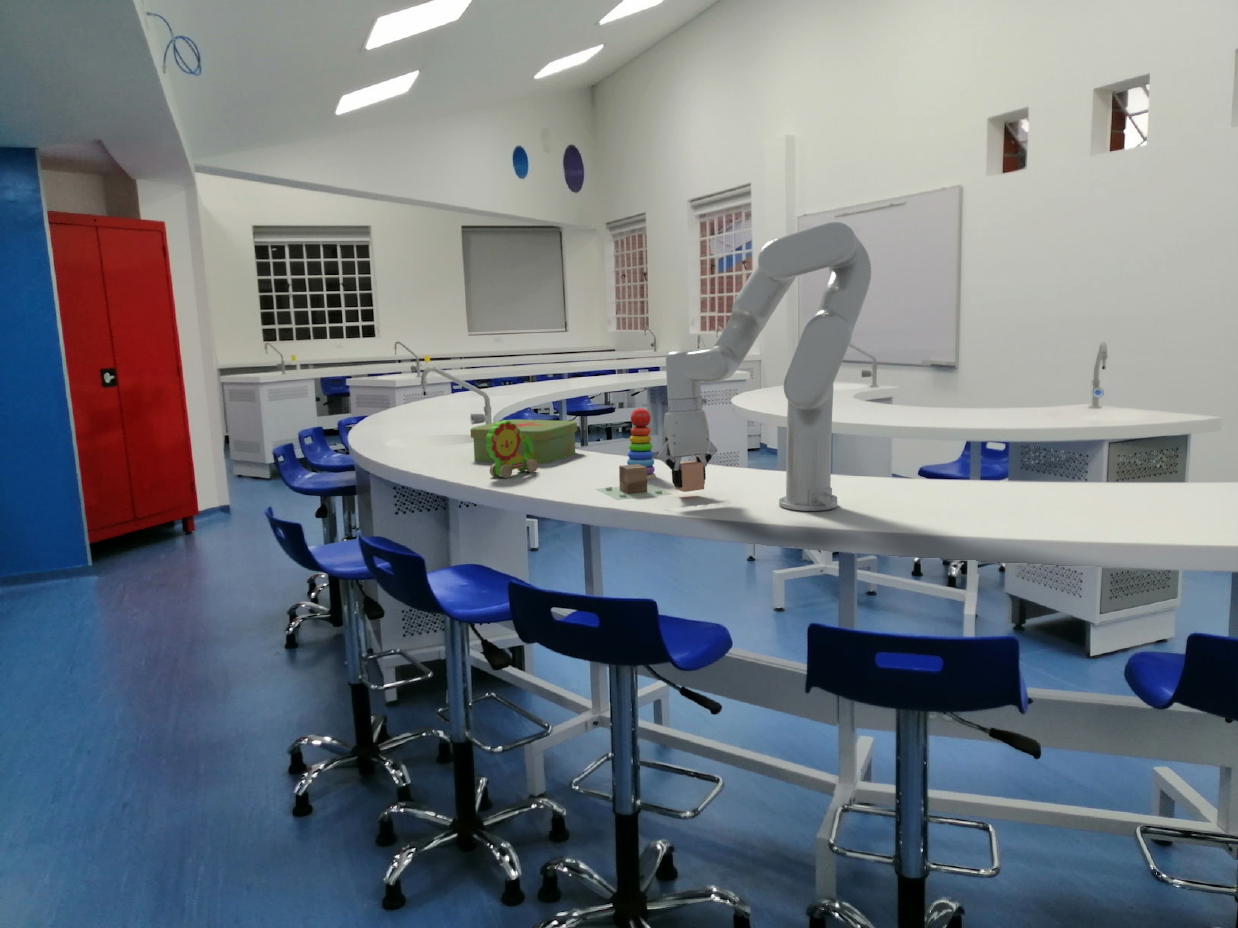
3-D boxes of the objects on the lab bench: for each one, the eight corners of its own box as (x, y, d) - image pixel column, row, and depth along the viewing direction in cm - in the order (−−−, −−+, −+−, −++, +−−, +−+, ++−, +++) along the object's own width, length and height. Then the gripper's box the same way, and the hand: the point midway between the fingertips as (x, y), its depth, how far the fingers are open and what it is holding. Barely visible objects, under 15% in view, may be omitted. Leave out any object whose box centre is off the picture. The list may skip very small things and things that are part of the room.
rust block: (704, 489, 200) (702, 463, 199) (684, 492, 198) (682, 465, 197) (694, 486, 204) (693, 460, 203) (675, 488, 203) (673, 463, 202)
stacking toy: (653, 483, 223) (652, 410, 220) (622, 483, 225) (620, 410, 222) (658, 478, 231) (657, 407, 228) (628, 477, 233) (626, 407, 230)
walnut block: (647, 492, 208) (646, 467, 207) (627, 494, 206) (627, 468, 205) (639, 488, 212) (638, 464, 211) (619, 490, 210) (619, 465, 209)
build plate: (672, 498, 205) (672, 491, 205) (616, 503, 200) (616, 496, 200) (648, 487, 218) (648, 481, 218) (595, 493, 213) (595, 486, 213)
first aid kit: (466, 461, 267) (465, 428, 265) (510, 449, 290) (509, 418, 289) (543, 465, 256) (542, 431, 255) (582, 452, 280) (581, 421, 278)
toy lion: (524, 470, 248) (522, 416, 245) (538, 472, 244) (537, 417, 242) (482, 478, 236) (480, 422, 233) (496, 480, 232) (494, 423, 230)
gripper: (711, 401, 205) (714, 478, 207) (643, 408, 199) (648, 487, 201) (726, 403, 198) (730, 483, 201) (657, 410, 192) (662, 492, 195)
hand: (689, 484), depth 201 cm, fingers closed on rust block, 5 cm apart
